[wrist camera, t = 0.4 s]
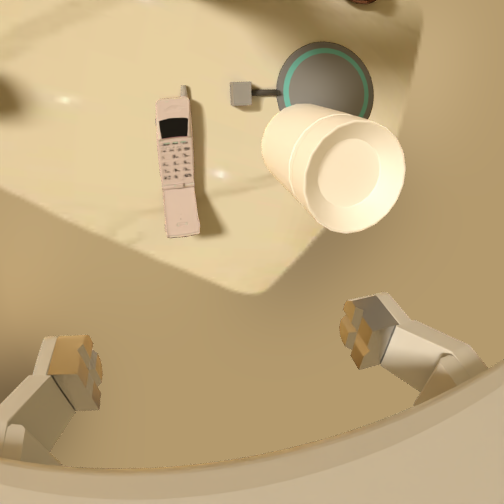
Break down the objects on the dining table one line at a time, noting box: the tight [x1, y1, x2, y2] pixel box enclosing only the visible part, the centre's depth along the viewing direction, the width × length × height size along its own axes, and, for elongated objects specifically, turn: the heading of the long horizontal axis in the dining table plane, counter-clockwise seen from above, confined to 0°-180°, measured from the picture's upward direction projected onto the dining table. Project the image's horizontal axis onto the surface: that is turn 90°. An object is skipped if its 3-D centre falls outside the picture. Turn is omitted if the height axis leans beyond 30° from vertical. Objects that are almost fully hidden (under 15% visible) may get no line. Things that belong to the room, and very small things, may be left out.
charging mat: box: [230, 42, 373, 119], centre depth 51 cm, size 20×28×2 cm
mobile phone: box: [155, 85, 200, 238], centre depth 51 cm, size 6×6×25 cm
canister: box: [261, 104, 406, 233], centre depth 49 cm, size 16×16×20 cm
